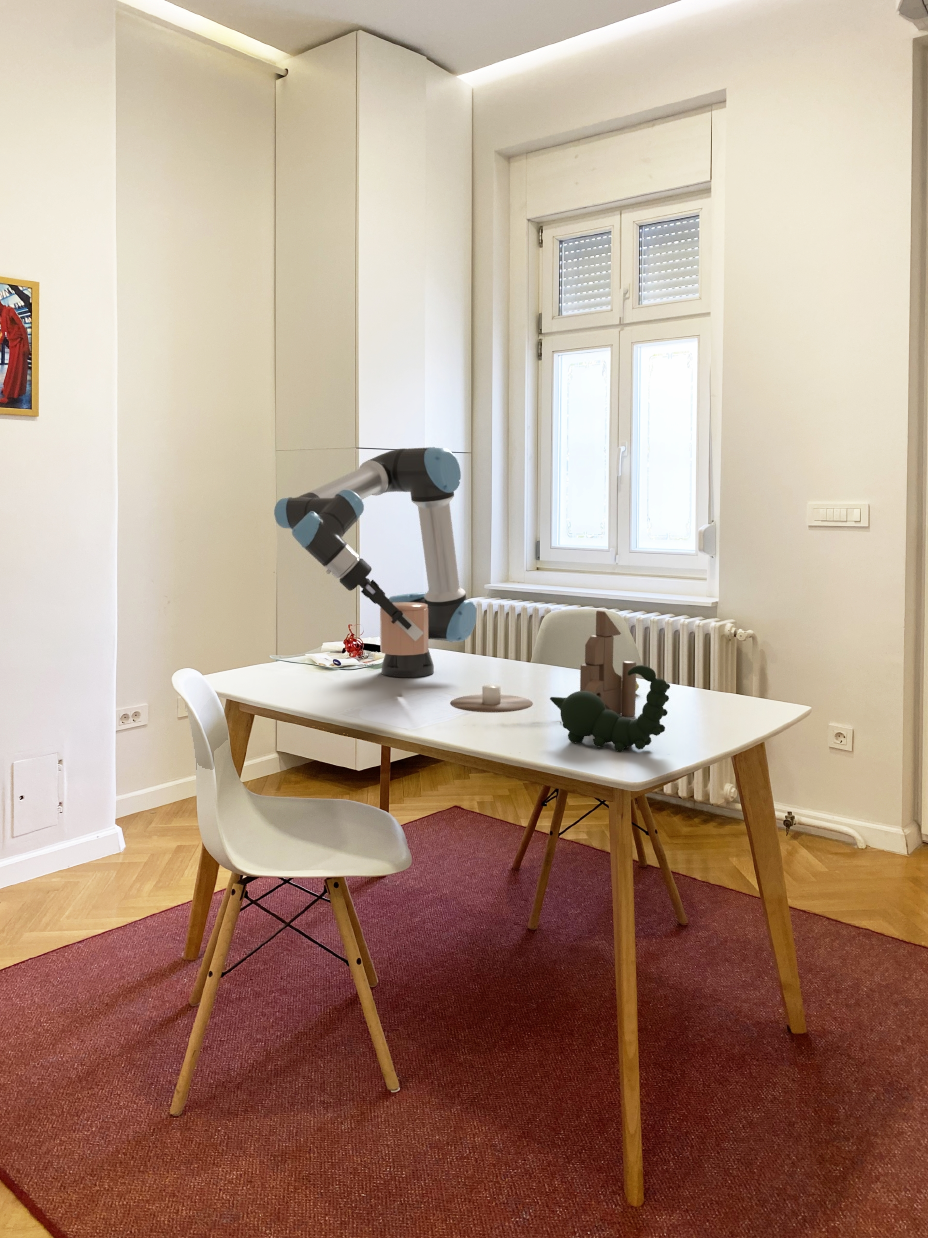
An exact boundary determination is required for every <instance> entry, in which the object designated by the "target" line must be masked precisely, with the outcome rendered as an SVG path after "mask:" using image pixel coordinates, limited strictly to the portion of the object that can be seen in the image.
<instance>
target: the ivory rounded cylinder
mask: <svg viewBox="0 0 928 1238" xmlns="http://www.w3.org/2000/svg"><path fill="white" fill-rule="evenodd" d="M481 687H482V688H481V689H482V691H481V692H482V693H481V694H482V703H483V704H486V705H497V704H500V703H501V695H502V694H501V688H502V686H501V685H497V684H483V685H482V686H481Z"/></svg>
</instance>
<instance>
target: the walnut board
mask: <svg viewBox="0 0 928 1238" xmlns="http://www.w3.org/2000/svg"><path fill="white" fill-rule="evenodd" d="M449 702H450V703H449V704H450V706H452V707H453V708H455V709H458V710H462V711H468V712H476V713H509V712H511V713H512V712H517V711H522V710H526V709H529V708H530V707H532V706H533V705H534V702H533V701H532V700H530V699H529V698H525V697H523V696H522V697H521V696H517V695H511V694H501V703H500V704H497V705H486V704H483V703H482V693H481V694H473V695H472V694H469V695H465V696H464V695H463V696H460V697H456V698H454V699H452V700H450V701H449Z"/></svg>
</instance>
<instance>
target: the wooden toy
mask: <svg viewBox="0 0 928 1238" xmlns="http://www.w3.org/2000/svg"><path fill="white" fill-rule="evenodd" d="M621 634H622V633H621V631H620V630H619V629H618V628H617V626H616V624H614V621H612V619H611V618H610V617H609V615H608V614H607V612H606V611H605V610H604V611H602V610H596V613H595V635H590V636H589V638H588V640H587V641H586V643H585V645H584V647H585V648H584V664H581V665H580V668H579V669H580V671H579V672H580V673H579V674H580V677H579V682H580V683H579V691H589V692H592V693H594V694H596V695H597V696H598V697H600V698H601V700H602V701H603V702H604V704H605V707H606V709H609V710H612V711H614V712H616V713H617V714H618V715H619V716H620V715H621V716H622V717H626V718H631V717H635V716H636V699H637V698H636V696H637V695H636V692H637V691H636V681H637V674H632V675H630V676H629V675H628V671H629V670H630V669H631V668H633V667H634V666H637V662H636V661H634V660H624V661H622V670H621V671H622V672H621V675H620V674H618V673H617V672H616V671H615V668H614V636H620V635H621ZM621 687H622V688H621Z"/></svg>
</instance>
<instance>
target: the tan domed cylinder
mask: <svg viewBox="0 0 928 1238" xmlns="http://www.w3.org/2000/svg"><path fill="white" fill-rule="evenodd" d="M393 604H394V605H395V606H396V607H397V608H398V609H399V610H401V611H402V612H403V613H404V614H405V615H406V616H407V617H408V618H409V619H410V620H411V621H412V622H413V623H414V624H415V625H416V626H417V627H418V628H419V629H420V630H421V631H422V632H423V634H422V635H421V636H420V637H419V639H418V640H417V641H414V640H413V639H412V638H411V637H410V636H409V635H408V634H407V633H406V632H405V631H404V630H403V629H402V628H401V627H400V626H399V625H398V624H397V623H396V622H395V623H394V624H393V623H392V622H391V621H392V618H391V617H390V616H389V615H388V614H387V613H386V612H385V611H384V610H383V609H382V608H381V607H380V608H379V614H380V615H379V617H380V618H379V619H380V621H379V625H380V626H379V627H380V628H379V631H380V632H379V635H380V636H379V637H380V640H379V641H380V645H379V646H380V652H381V653H382V654H384V655H385V654H389V655H417V654H424V653H426V652H428V649H429V639H428V605H427V604H425V603H416V602H394V603H393Z"/></svg>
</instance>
